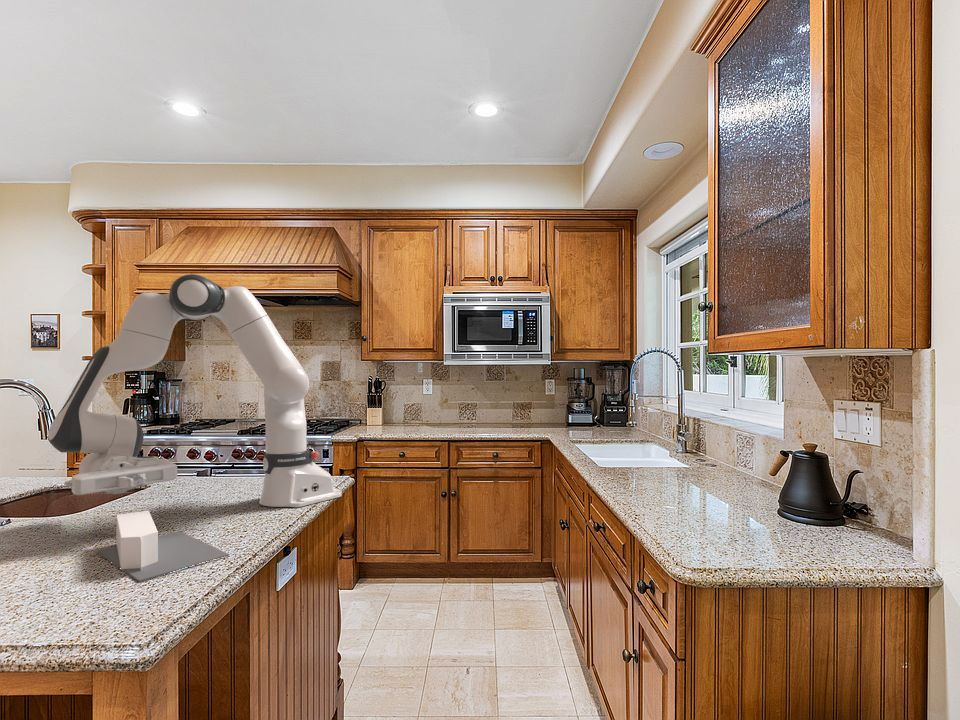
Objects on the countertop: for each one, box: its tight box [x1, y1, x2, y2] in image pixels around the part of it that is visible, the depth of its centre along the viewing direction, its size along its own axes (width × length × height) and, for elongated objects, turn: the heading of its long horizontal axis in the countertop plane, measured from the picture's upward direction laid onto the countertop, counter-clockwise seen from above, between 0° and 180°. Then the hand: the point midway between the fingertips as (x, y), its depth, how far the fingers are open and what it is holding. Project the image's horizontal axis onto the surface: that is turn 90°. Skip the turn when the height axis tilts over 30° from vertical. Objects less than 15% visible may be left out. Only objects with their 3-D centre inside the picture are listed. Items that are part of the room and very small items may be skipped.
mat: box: [96, 531, 230, 583], centre depth 106 cm, size 24×16×1 cm, turn 52°
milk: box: [115, 510, 159, 570], centre depth 105 cm, size 6×6×22 cm
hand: (138, 482), depth 114 cm, fingers closed
